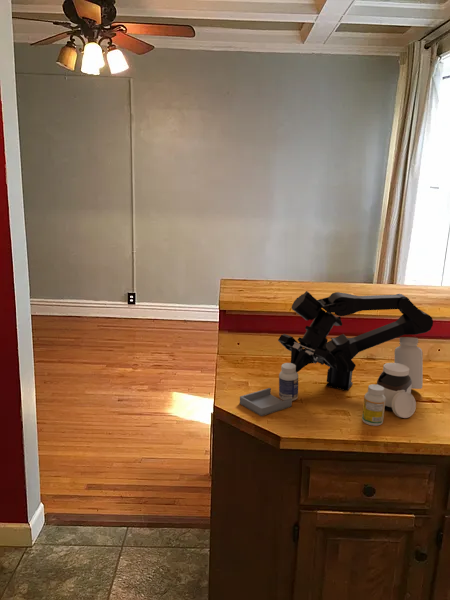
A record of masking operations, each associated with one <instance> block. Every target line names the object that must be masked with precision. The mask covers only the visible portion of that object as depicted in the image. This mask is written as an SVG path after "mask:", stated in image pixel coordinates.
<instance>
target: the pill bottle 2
mask: <svg viewBox="0 0 450 600" xmlns="http://www.w3.org/2000/svg"><path fill="white" fill-rule="evenodd" d="M398 344H399V345H398V346H397V347H395V350H394V363H399V364H403V365H405V366H407V367H408V368H409V374H408V375H409V376H410V377H411V380H412V387H411V390H412V389H413V390H414V389H416V390H421V389H423V380H424V379H423V377H424V375H423V370H424V369H423V364H424V363H423V361H424V360H423V350H422V348H421V347H419V346H418V345H419V338H418V337H410V336H400V337H399V343H398Z"/></svg>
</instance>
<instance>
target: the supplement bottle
mask: <svg viewBox="0 0 450 600" xmlns="http://www.w3.org/2000/svg"><path fill="white" fill-rule="evenodd" d="M367 387H368V388H367V392H366V393H365V394H364V398H363V405H362V406H363V407H362V415H361V416H362V417H361V420H362V421H363V423H364V424H366V425H369V426H380V425H382V424H383V423H384V416H385V402H386V398H385V396H384V395H383V394H384V387H382V386H380V385H377V383H376V384H374V383H371V384H369V385H368V386H367Z"/></svg>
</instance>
